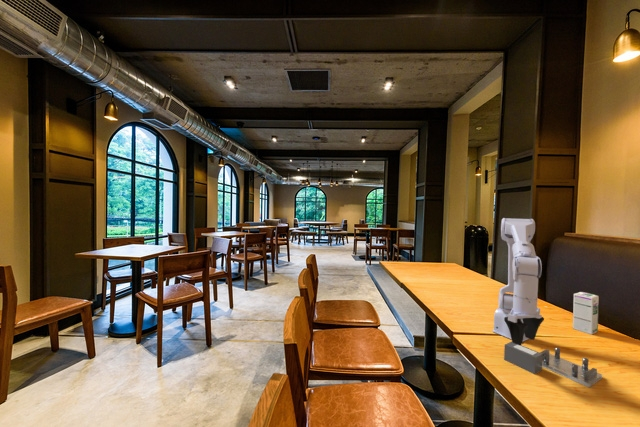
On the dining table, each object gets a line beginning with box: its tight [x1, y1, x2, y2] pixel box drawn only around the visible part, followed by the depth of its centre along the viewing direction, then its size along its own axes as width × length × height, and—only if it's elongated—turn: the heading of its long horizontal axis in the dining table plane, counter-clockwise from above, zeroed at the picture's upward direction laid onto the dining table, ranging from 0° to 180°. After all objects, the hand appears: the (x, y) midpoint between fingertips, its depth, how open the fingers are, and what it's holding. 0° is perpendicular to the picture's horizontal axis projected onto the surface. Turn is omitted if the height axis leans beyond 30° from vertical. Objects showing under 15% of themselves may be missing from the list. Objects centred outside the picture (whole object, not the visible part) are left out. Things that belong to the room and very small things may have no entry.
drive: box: [503, 341, 543, 375], centre depth 79 cm, size 8×4×5 cm, turn 29°
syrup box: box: [572, 291, 600, 335], centre depth 104 cm, size 6×6×14 cm
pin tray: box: [539, 346, 603, 388], centre depth 77 cm, size 13×9×4 cm
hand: (523, 341), depth 79 cm, fingers open, 7 cm apart
